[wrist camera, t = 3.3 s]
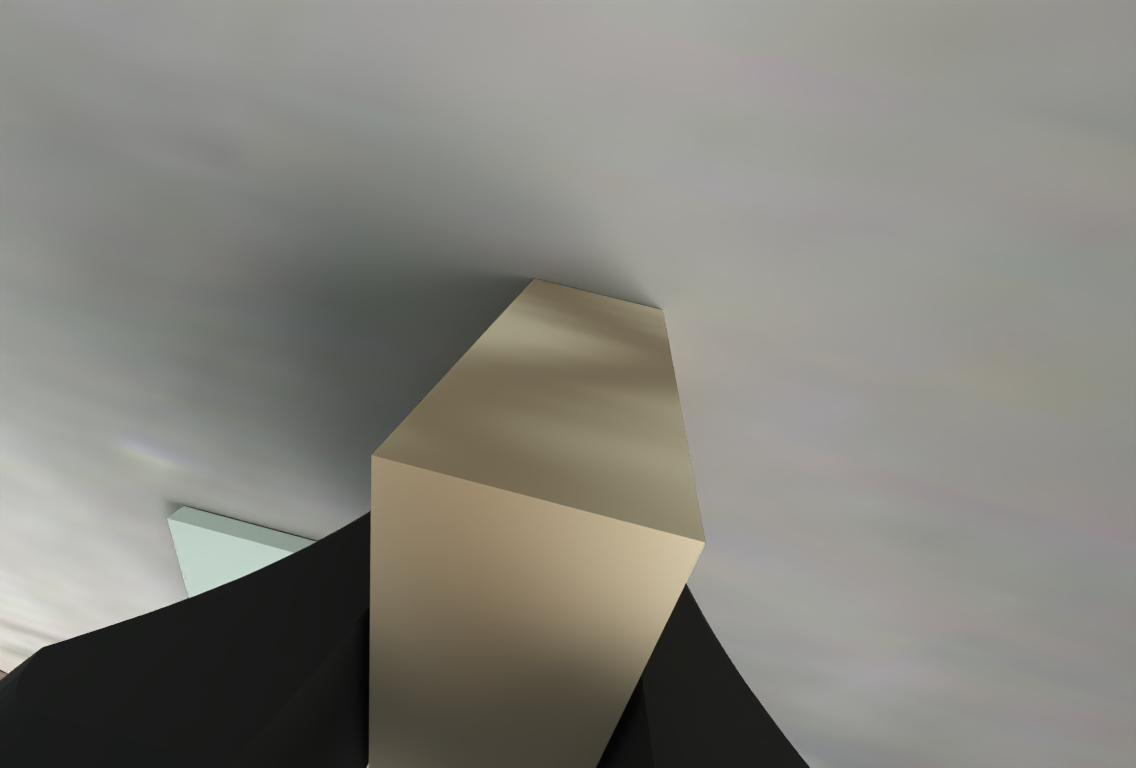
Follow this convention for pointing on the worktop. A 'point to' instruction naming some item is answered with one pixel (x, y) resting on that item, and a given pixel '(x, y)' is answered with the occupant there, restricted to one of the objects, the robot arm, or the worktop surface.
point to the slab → (529, 539)
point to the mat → (224, 548)
